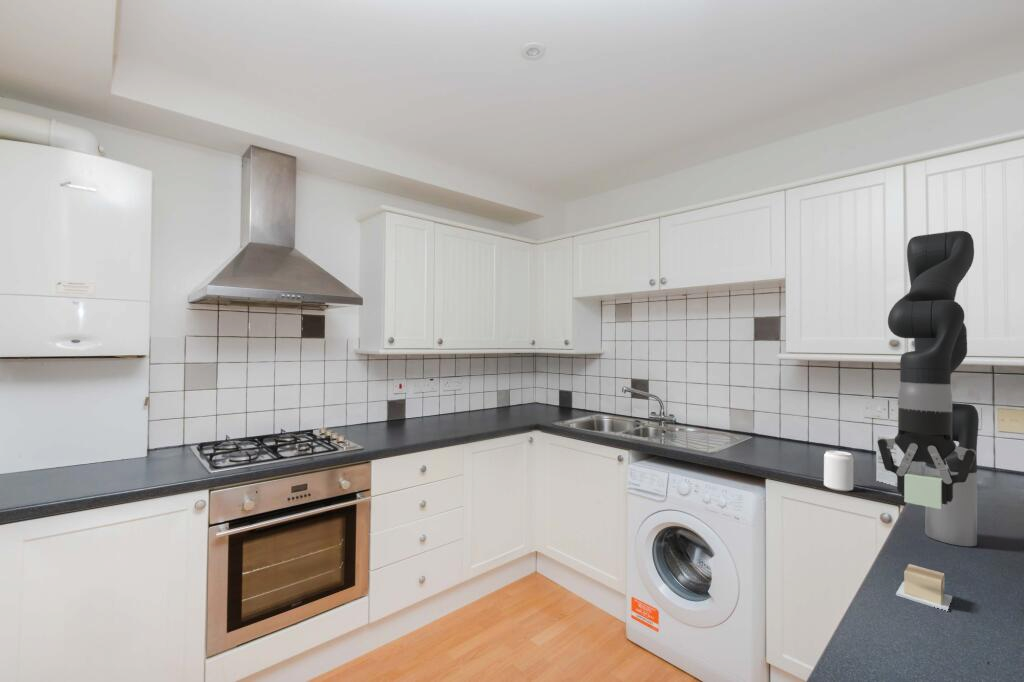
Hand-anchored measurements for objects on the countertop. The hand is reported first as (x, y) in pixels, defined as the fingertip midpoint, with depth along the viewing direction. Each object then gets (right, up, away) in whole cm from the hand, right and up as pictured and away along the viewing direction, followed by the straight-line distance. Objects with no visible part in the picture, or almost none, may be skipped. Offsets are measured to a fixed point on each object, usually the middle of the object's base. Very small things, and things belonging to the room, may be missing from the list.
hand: (924, 499), depth 86 cm
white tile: (0, -18, 0) cm, 18 cm away
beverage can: (+33, -20, +70) cm, 80 cm away
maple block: (0, -17, 0) cm, 17 cm away
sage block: (0, -1, 0) cm, 1 cm away
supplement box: (+60, -21, +78) cm, 100 cm away
